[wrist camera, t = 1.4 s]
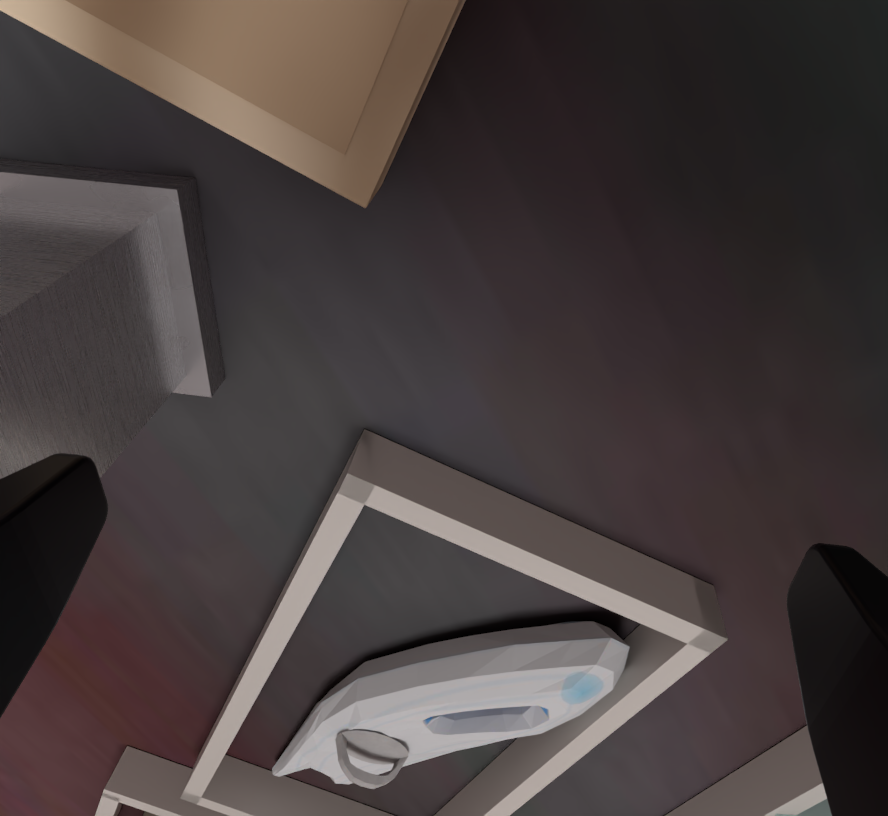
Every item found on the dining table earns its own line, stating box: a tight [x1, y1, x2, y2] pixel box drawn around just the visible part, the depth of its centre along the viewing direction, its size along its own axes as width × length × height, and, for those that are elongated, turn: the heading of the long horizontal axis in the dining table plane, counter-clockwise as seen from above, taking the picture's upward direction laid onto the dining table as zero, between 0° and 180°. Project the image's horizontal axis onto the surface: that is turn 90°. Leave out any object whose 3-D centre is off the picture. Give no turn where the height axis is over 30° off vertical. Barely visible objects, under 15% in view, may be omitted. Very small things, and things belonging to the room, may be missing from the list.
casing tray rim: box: [180, 429, 728, 816], centre depth 32 cm, size 15×27×2 cm, turn 155°
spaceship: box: [272, 621, 630, 789], centre depth 31 cm, size 23×7×4 cm, turn 132°
